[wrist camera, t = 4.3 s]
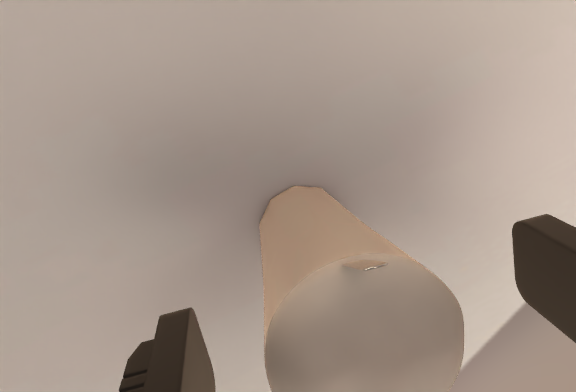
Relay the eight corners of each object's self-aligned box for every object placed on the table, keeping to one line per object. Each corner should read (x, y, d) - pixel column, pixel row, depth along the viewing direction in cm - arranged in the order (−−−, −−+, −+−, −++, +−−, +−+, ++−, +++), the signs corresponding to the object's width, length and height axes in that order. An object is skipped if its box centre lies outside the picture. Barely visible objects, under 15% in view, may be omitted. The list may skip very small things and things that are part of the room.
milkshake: (346, 134, 17) (507, 233, 8) (366, 263, 19) (518, 471, 10) (224, 161, 17) (240, 299, 7) (256, 290, 19) (301, 536, 9)
